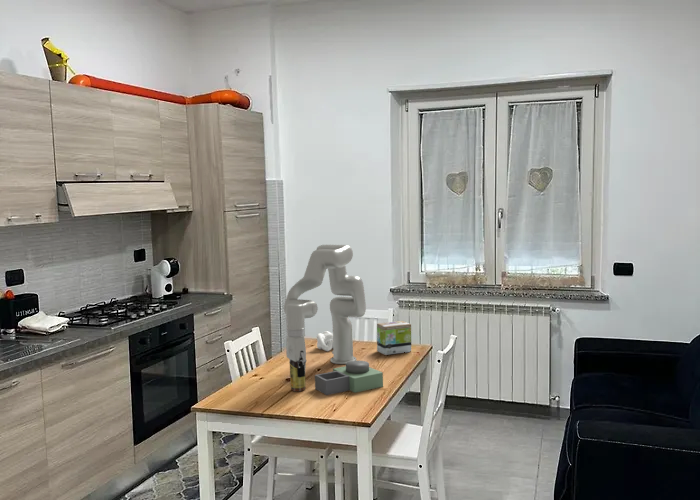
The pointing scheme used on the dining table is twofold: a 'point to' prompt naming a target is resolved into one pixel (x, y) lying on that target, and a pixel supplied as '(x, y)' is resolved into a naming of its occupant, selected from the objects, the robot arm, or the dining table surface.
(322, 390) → the grey and green blocks
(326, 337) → the white knot sculpture
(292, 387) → the sauce bottle
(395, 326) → the tea box
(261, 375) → the dining table surface
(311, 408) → the dining table surface
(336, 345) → the robot arm
